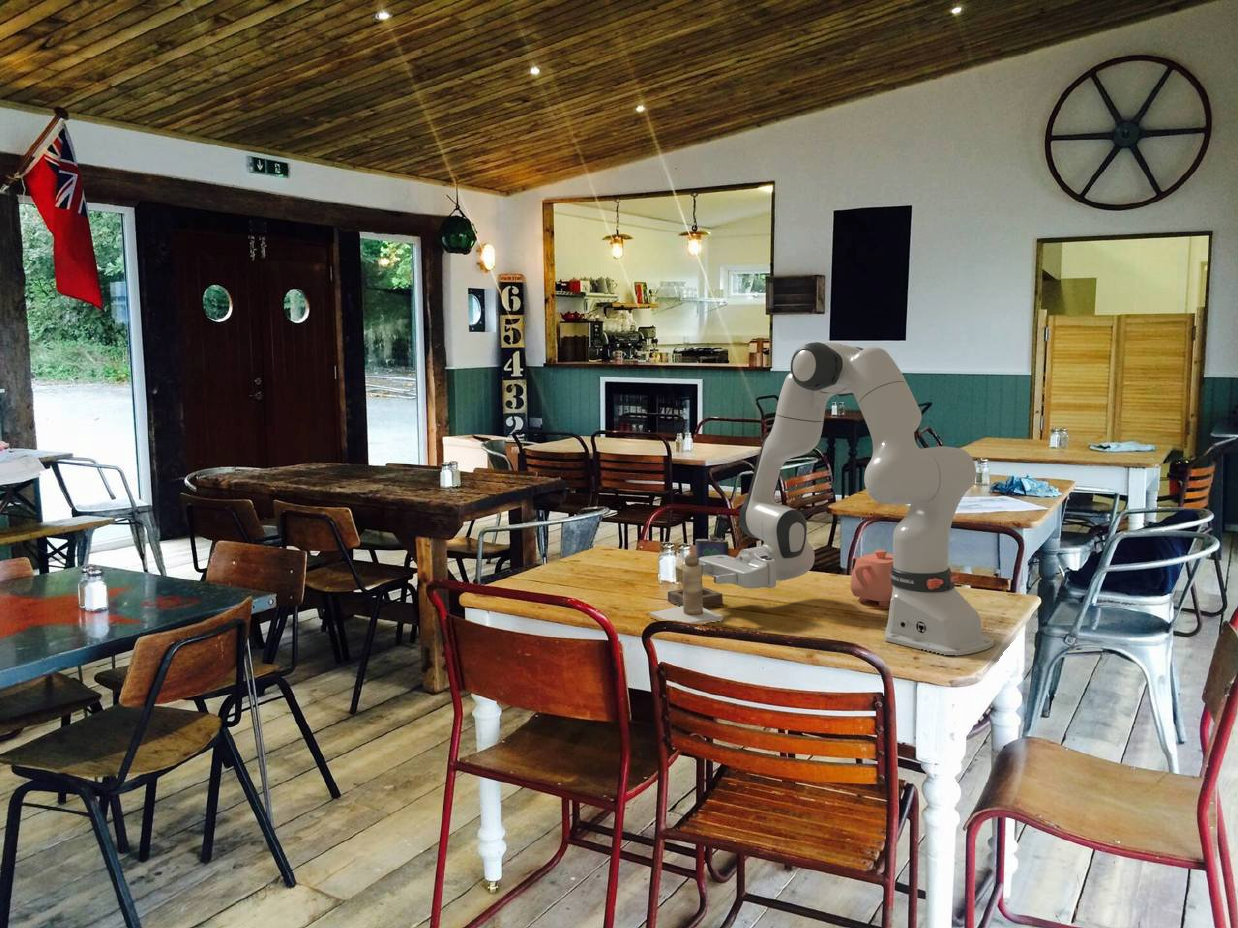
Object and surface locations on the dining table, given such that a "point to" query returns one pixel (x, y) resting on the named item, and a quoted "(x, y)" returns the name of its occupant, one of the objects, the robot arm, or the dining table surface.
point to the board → (679, 615)
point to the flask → (711, 546)
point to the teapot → (873, 578)
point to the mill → (692, 586)
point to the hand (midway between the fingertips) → (703, 575)
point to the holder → (708, 597)
